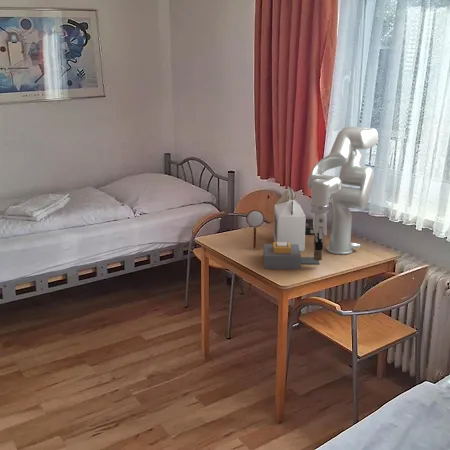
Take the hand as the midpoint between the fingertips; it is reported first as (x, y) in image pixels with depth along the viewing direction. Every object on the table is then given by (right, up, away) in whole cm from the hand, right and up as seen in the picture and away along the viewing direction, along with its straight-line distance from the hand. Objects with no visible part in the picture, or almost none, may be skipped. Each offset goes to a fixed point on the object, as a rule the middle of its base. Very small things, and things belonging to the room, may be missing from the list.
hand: (318, 247), depth 240 cm
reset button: (-15, -4, +9) cm, 18 cm away
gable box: (-9, 0, +34) cm, 35 cm away
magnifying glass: (-26, -2, +26) cm, 37 cm away
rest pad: (-2, -7, +11) cm, 13 cm away
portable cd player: (+4, +7, +56) cm, 56 cm away
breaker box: (-15, -7, +9) cm, 19 cm away
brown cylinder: (0, -5, +2) cm, 5 cm away
